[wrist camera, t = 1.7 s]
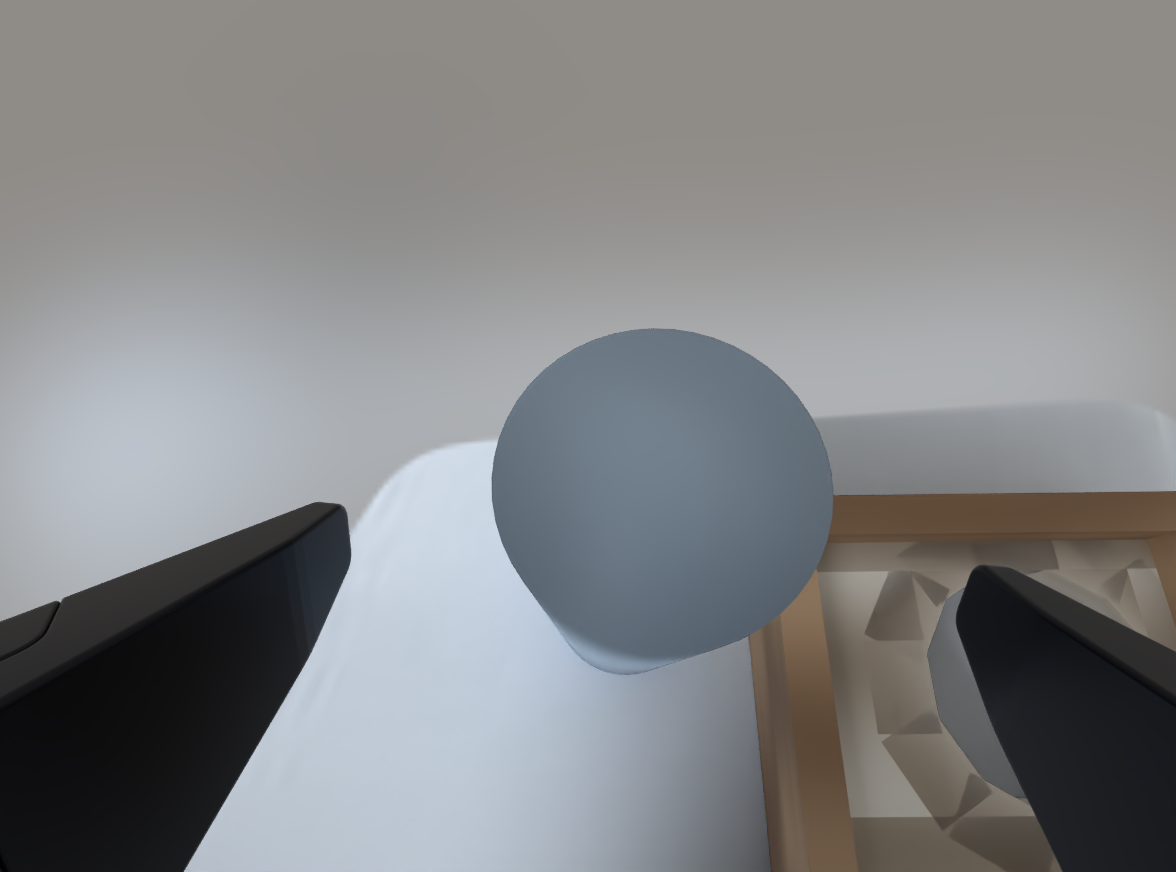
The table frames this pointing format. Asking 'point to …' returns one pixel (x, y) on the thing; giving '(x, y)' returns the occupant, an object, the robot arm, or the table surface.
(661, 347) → the peg
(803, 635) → the walnut box
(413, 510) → the table surface
